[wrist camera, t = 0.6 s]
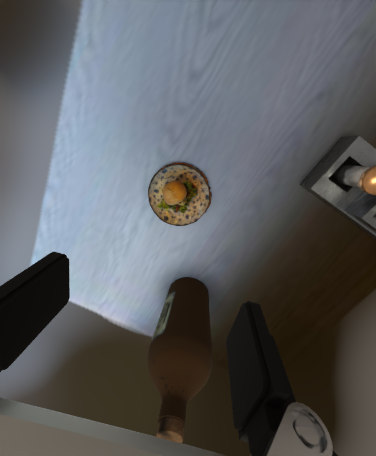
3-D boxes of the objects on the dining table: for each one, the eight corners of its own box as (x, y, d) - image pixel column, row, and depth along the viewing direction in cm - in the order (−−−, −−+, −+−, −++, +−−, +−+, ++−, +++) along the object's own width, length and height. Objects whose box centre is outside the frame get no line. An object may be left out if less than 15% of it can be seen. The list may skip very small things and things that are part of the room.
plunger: (340, 157, 30) (383, 159, 23) (357, 170, 31) (404, 176, 24) (322, 176, 32) (358, 184, 24) (339, 188, 32) (378, 200, 25)
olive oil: (217, 283, 44) (229, 430, 21) (202, 315, 48) (197, 469, 25) (173, 268, 44) (135, 402, 21) (161, 302, 48) (118, 446, 25)
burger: (153, 222, 40) (141, 237, 33) (146, 163, 36) (132, 166, 29) (210, 223, 39) (211, 238, 32) (211, 161, 35) (212, 164, 28)
